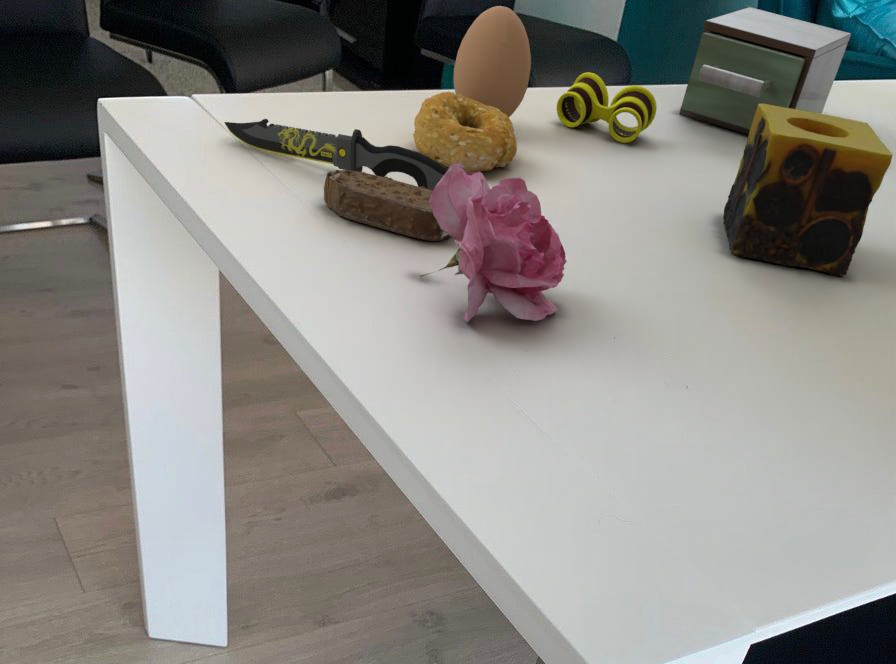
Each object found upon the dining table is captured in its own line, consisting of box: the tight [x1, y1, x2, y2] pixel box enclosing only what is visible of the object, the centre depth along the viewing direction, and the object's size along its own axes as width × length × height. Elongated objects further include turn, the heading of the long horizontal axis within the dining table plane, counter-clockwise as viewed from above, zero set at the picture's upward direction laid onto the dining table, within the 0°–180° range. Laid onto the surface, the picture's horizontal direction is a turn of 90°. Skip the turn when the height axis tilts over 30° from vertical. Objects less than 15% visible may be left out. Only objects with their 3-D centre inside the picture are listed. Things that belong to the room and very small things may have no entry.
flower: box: [419, 163, 568, 324], centre depth 72 cm, size 11×10×10 cm
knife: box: [224, 118, 449, 191], centre depth 88 cm, size 23×2×5 cm, turn 62°
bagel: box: [412, 91, 518, 173], centre depth 96 cm, size 10×11×5 cm
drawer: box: [681, 32, 805, 129], centre depth 118 cm, size 19×12×8 cm, turn 148°
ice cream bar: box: [323, 169, 451, 242], centre depth 81 cm, size 5×15×3 cm, turn 70°
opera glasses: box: [556, 71, 657, 144], centre depth 109 cm, size 10×5×5 cm, turn 62°
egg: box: [453, 5, 532, 119], centre depth 103 cm, size 8×8×11 cm
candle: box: [722, 104, 894, 277], centre depth 88 cm, size 10×10×10 cm
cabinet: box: [678, 6, 852, 136], centre depth 121 cm, size 16×13×10 cm
